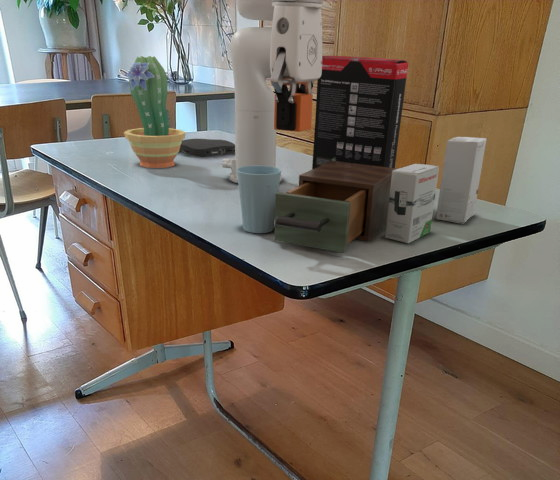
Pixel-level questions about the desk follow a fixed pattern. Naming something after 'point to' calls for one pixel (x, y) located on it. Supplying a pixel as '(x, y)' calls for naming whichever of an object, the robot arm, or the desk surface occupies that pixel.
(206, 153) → the media streaming box
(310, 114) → the plain orange cube
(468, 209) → the cosmetic box
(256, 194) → the cup
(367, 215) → the cabinet
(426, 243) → the desk surface
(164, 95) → the potted cactus
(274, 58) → the robot arm
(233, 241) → the desk surface
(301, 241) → the two-tone handled box
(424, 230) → the ink box
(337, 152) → the graphics card box
